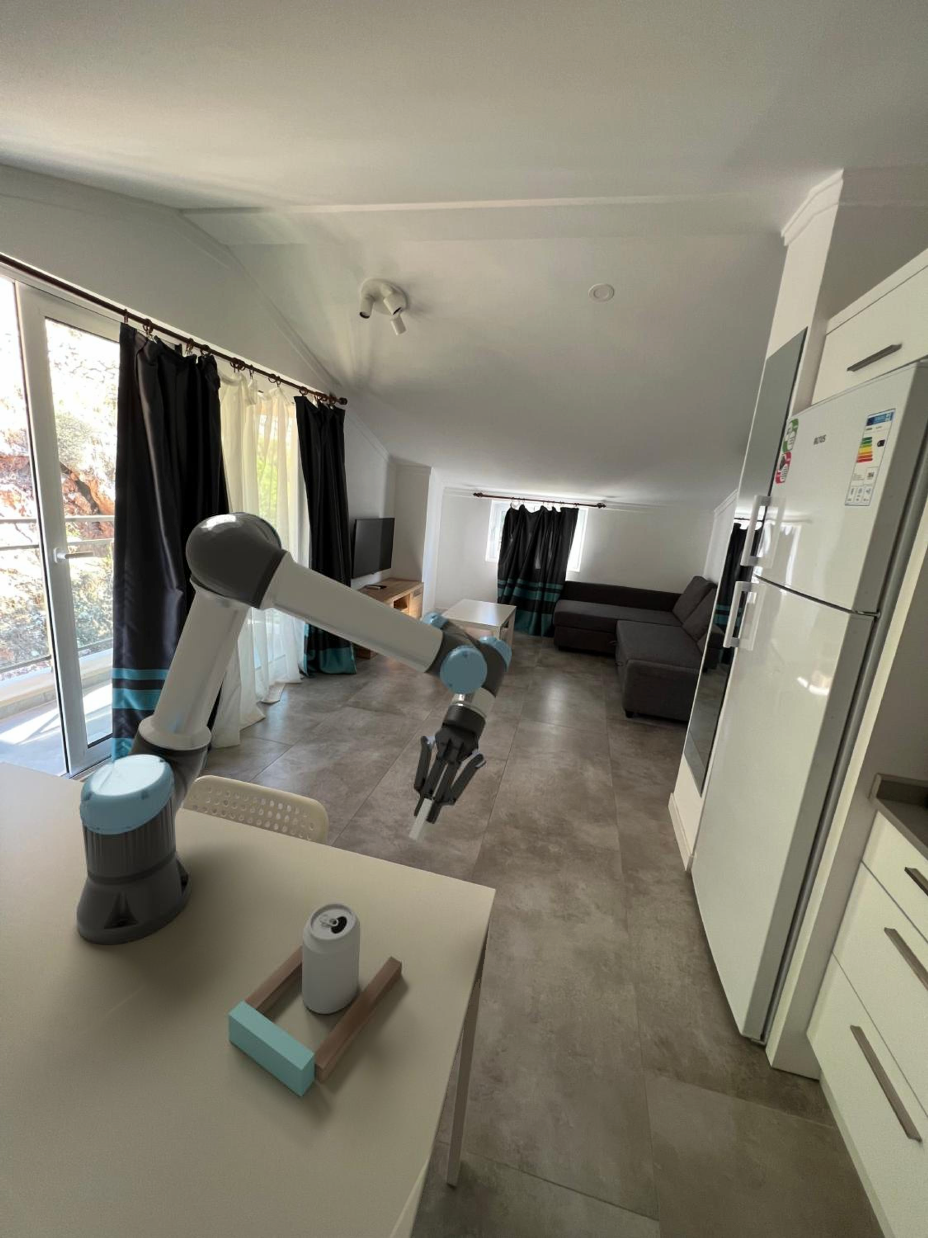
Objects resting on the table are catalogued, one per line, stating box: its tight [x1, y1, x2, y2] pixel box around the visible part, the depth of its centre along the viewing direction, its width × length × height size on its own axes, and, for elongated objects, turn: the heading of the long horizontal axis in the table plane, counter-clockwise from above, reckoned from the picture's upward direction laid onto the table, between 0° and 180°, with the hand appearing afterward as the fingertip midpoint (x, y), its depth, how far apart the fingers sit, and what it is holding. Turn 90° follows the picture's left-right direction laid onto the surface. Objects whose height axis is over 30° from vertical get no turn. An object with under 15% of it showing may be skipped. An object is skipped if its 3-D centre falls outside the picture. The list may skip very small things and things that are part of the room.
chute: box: [243, 943, 403, 1084], centre depth 67 cm, size 14×16×2 cm
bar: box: [227, 1000, 315, 1098], centre depth 59 cm, size 12×2×4 cm, turn 63°
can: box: [301, 901, 362, 1015], centre depth 67 cm, size 8×8×12 cm
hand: (415, 840), depth 82 cm, fingers closed
